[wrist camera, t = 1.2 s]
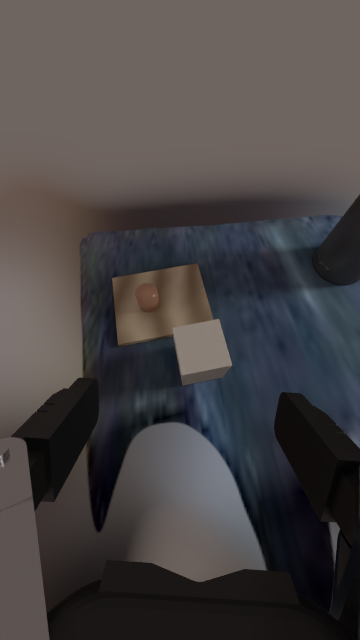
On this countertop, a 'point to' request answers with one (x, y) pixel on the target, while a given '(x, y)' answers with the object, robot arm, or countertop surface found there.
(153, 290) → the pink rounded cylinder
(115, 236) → the countertop surface
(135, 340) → the board
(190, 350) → the light grey cuboid block
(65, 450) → the robot arm
